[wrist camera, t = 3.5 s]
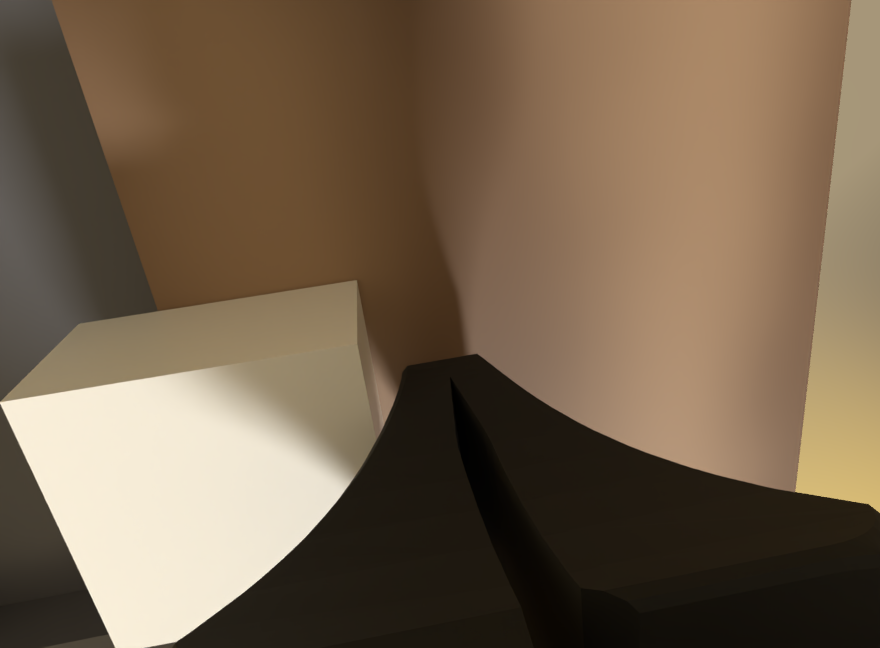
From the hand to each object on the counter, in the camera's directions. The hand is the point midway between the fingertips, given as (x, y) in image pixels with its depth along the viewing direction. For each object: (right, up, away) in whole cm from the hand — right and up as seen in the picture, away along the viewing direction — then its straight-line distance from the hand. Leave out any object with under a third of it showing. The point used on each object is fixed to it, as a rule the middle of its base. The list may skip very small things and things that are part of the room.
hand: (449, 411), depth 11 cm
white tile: (-4, 0, 0) cm, 3 cm away
